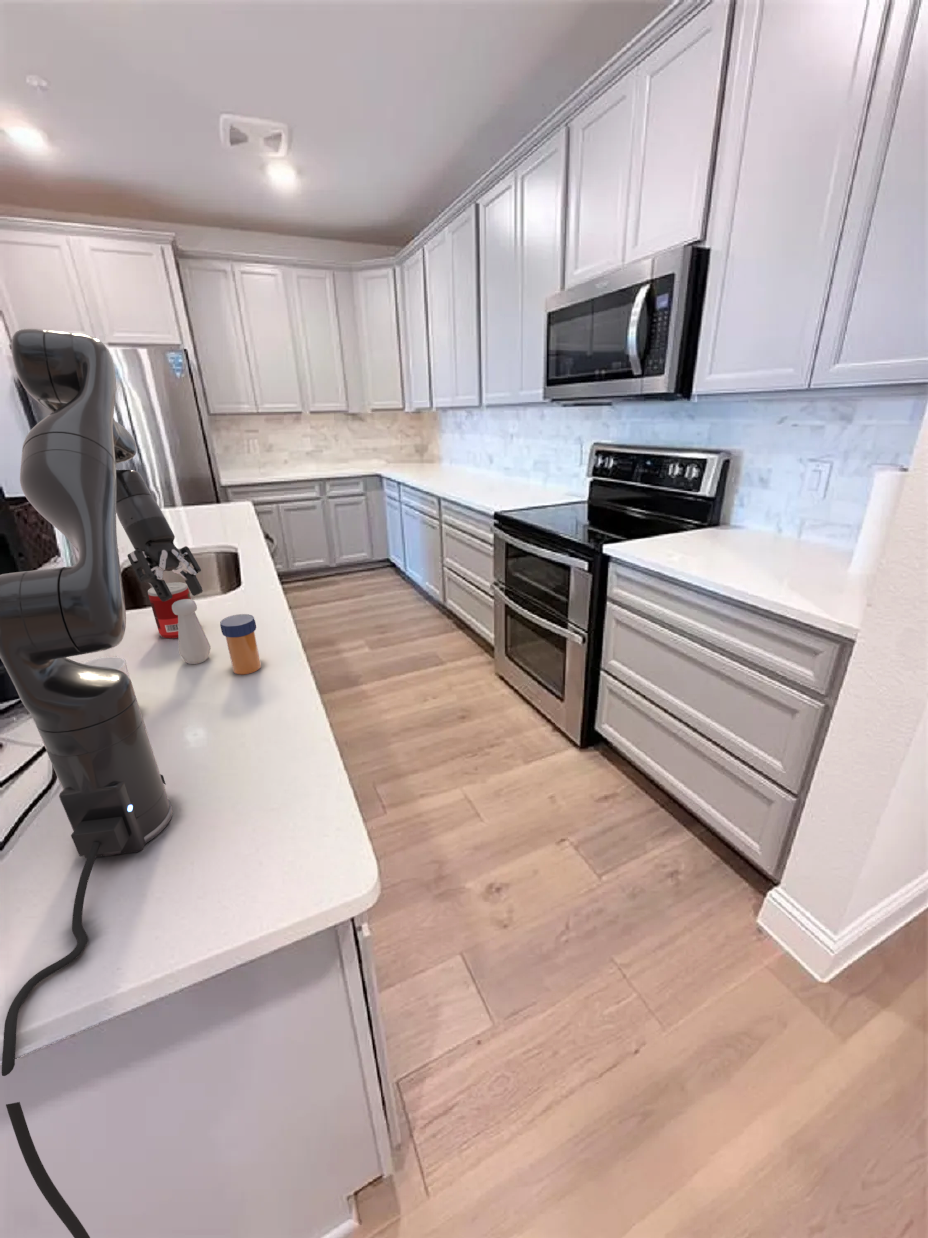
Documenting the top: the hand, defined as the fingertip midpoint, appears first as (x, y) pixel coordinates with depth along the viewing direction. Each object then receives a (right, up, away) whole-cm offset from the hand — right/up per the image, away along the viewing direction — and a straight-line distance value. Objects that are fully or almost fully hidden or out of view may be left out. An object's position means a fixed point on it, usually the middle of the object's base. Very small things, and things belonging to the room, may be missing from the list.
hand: (183, 596), depth 102 cm
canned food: (-10, -8, +17) cm, 21 cm away
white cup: (-2, -22, -17) cm, 28 cm away
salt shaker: (+1, -13, +3) cm, 14 cm away
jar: (+13, -14, -1) cm, 19 cm away
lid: (+13, -5, -5) cm, 15 cm away
